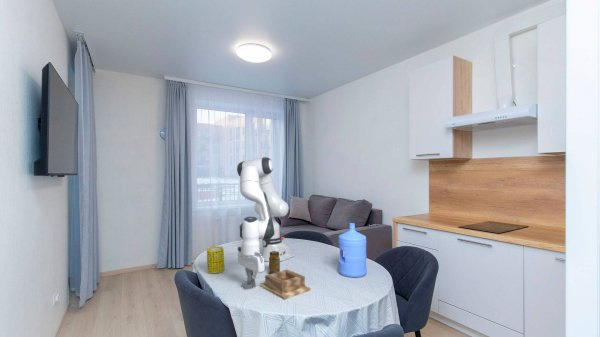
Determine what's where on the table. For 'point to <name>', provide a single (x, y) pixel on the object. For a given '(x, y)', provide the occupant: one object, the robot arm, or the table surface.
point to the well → (285, 284)
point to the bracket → (249, 280)
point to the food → (215, 259)
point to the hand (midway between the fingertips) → (251, 277)
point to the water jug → (352, 253)
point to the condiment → (274, 262)
